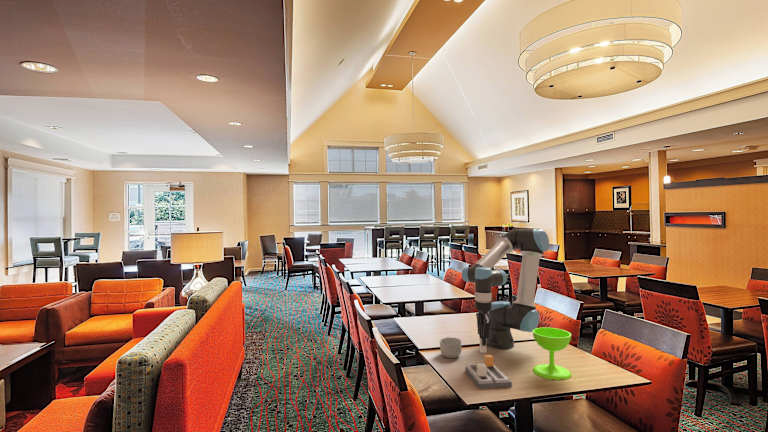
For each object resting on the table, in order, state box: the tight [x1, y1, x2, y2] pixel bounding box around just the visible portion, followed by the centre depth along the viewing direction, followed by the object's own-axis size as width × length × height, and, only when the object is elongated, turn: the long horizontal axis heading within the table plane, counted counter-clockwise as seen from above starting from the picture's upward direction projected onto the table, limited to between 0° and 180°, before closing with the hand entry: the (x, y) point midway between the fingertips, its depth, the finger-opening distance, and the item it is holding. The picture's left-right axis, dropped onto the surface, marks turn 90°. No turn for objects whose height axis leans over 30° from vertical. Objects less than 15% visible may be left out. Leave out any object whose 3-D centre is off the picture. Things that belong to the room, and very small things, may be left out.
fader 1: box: [476, 363, 487, 379], centre depth 165 cm, size 3×3×5 cm
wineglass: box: [532, 326, 572, 381], centre depth 175 cm, size 16×16×18 cm
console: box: [464, 362, 513, 390], centre depth 169 cm, size 14×18×3 cm
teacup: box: [439, 336, 462, 359], centre depth 198 cm, size 14×11×8 cm
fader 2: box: [483, 354, 495, 369], centre depth 175 cm, size 3×3×5 cm
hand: (483, 351), depth 182 cm, fingers closed
